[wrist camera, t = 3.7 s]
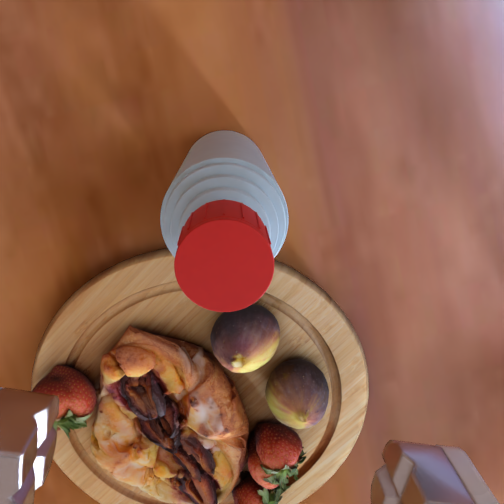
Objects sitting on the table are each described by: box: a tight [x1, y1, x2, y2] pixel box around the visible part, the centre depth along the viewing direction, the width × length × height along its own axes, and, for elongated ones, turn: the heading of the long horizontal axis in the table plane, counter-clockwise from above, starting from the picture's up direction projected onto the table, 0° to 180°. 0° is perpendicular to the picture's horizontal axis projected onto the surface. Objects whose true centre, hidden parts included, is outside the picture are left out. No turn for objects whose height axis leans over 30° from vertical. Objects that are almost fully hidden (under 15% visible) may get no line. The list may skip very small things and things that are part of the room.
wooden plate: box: [31, 248, 369, 504], centre depth 42 cm, size 32×32×8 cm
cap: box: [174, 199, 275, 312], centre depth 20 cm, size 4×4×3 cm
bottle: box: [160, 130, 289, 258], centre depth 29 cm, size 7×7×21 cm
